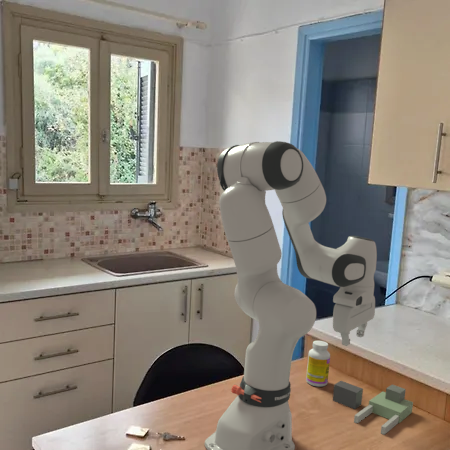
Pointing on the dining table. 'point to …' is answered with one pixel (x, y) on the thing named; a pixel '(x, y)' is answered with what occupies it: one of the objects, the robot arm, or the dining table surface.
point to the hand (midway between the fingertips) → (353, 340)
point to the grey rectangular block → (347, 394)
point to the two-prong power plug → (388, 407)
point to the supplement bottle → (318, 364)
